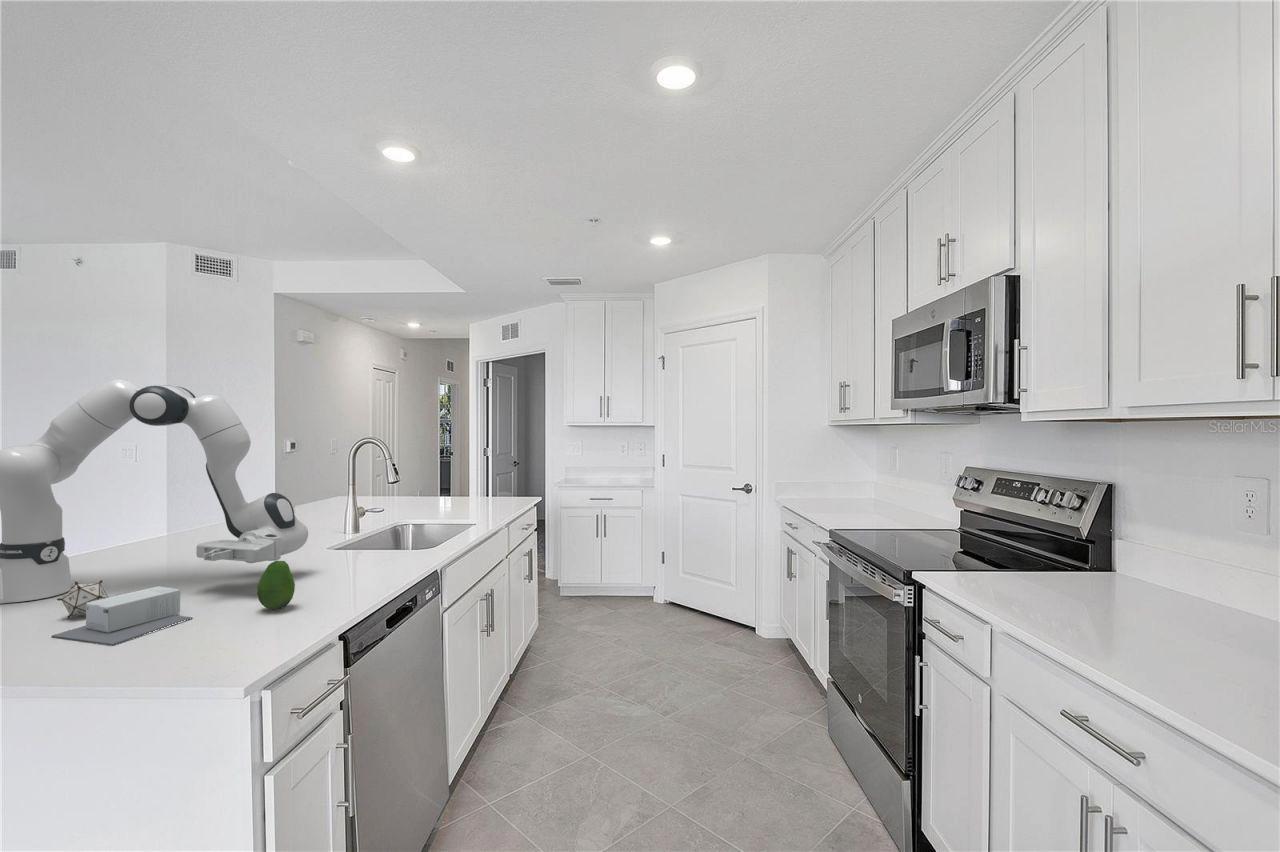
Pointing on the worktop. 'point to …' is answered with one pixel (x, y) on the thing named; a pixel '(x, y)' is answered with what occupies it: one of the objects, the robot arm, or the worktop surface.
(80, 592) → the game die
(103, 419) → the robot arm
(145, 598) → the skincare box
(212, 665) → the worktop surface
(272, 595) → the fruit
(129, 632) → the mat
